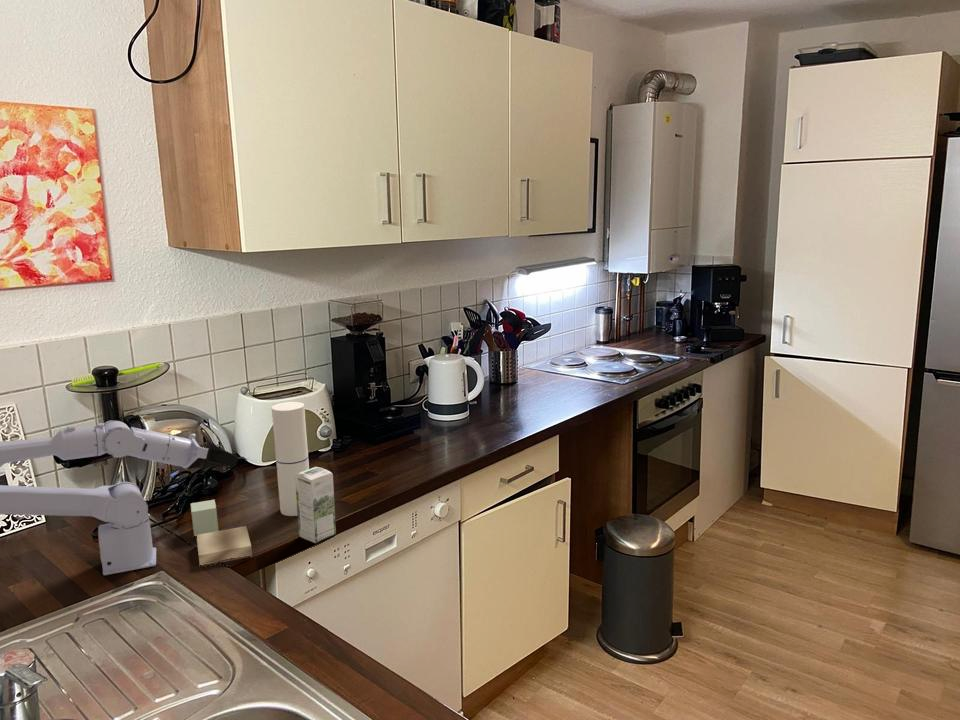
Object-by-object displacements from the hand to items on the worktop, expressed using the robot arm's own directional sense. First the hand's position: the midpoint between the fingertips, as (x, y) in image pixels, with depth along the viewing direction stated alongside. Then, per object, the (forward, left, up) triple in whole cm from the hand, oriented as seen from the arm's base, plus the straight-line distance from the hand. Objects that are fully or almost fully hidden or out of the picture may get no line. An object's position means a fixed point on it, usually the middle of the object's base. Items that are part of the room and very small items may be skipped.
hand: (230, 461), depth 158 cm
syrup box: (+16, -8, -17) cm, 24 cm away
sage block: (-6, +5, -17) cm, 19 cm away
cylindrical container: (+14, +8, -17) cm, 24 cm away
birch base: (-3, -7, -17) cm, 19 cm away
